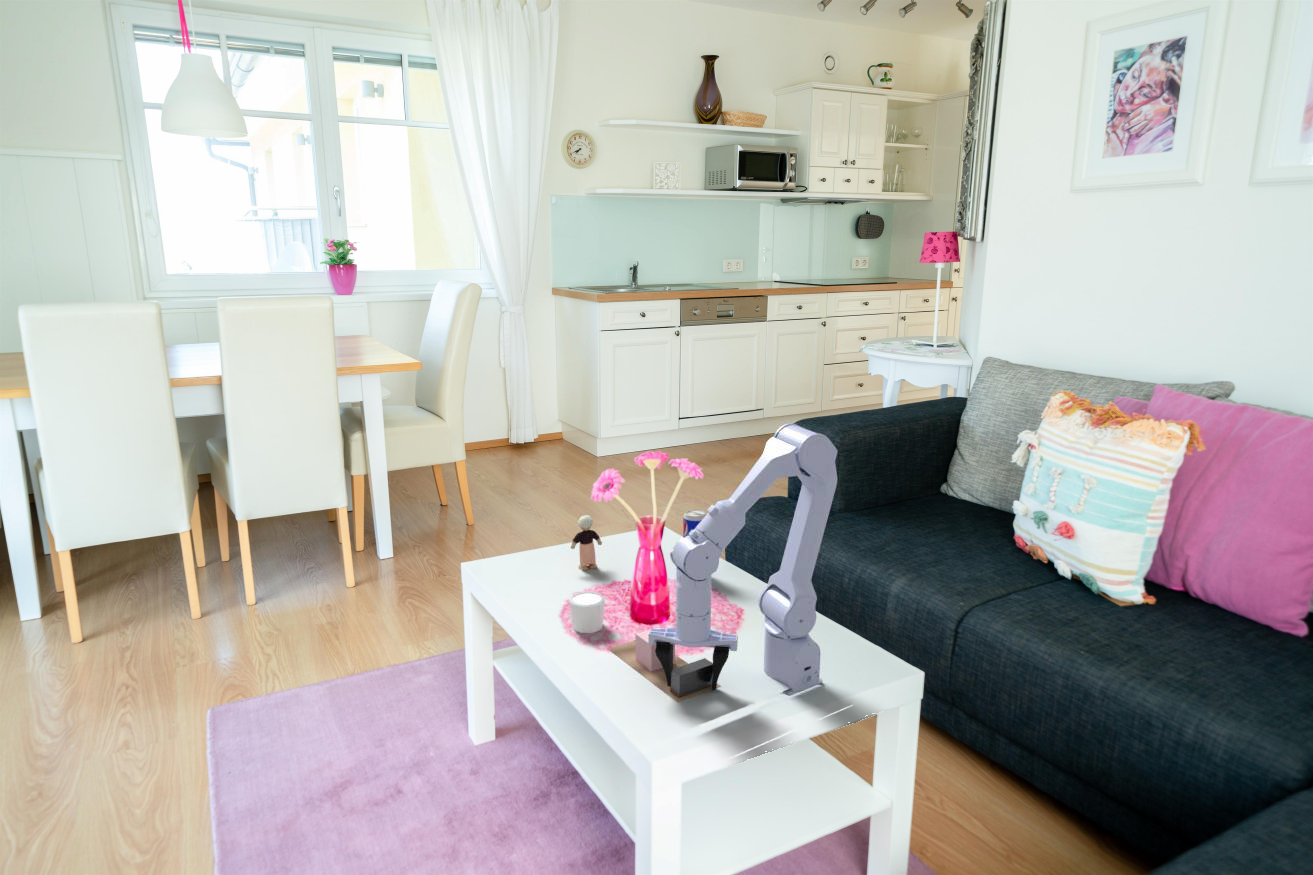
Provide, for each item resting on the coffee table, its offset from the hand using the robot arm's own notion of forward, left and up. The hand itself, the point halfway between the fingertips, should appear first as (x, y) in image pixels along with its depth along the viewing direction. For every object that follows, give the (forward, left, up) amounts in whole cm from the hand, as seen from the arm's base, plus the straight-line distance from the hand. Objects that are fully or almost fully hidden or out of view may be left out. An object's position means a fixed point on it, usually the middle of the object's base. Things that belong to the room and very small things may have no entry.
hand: (692, 685), depth 137 cm
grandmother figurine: (+59, -13, -2) cm, 60 cm away
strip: (+9, 0, -2) cm, 9 cm away
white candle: (+30, +3, -2) cm, 30 cm away
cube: (+11, 0, -1) cm, 11 cm away
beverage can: (+41, -31, -2) cm, 51 cm away
